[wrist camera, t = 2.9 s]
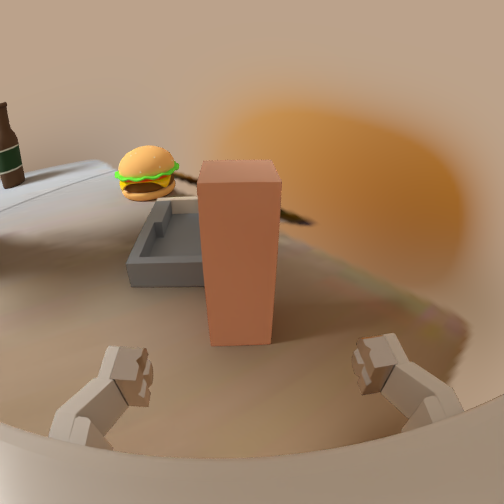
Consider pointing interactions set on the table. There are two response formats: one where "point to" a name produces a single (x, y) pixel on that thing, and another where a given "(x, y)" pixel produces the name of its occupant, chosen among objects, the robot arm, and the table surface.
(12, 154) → the beer bottle
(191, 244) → the slot board
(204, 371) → the table surface
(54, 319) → the table surface
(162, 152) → the hamburger
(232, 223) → the post
